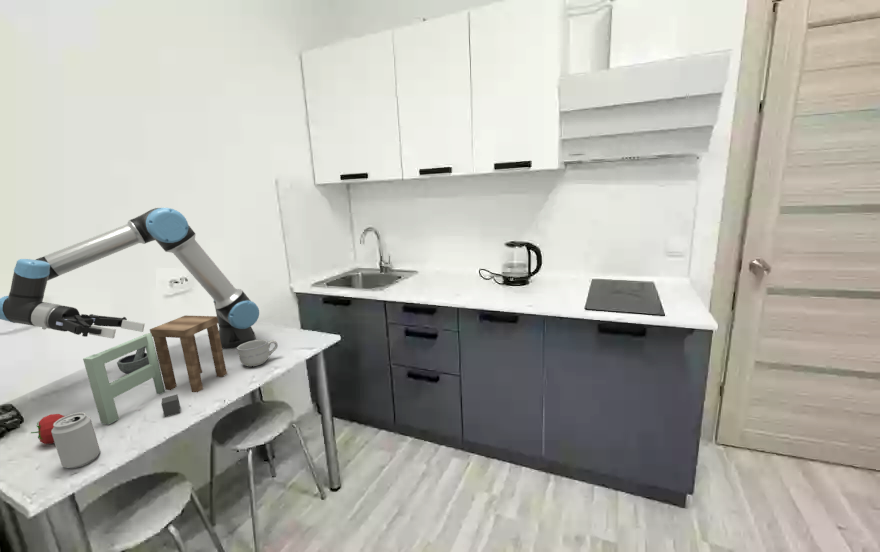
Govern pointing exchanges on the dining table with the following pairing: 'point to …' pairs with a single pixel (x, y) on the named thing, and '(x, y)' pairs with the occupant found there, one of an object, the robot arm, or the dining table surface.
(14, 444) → the dining table surface
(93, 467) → the dining table surface
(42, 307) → the robot arm
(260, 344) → the teacup
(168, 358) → the stool
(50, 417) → the tomato
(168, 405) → the block
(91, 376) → the frame
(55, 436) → the can
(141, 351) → the mortar and pestle
